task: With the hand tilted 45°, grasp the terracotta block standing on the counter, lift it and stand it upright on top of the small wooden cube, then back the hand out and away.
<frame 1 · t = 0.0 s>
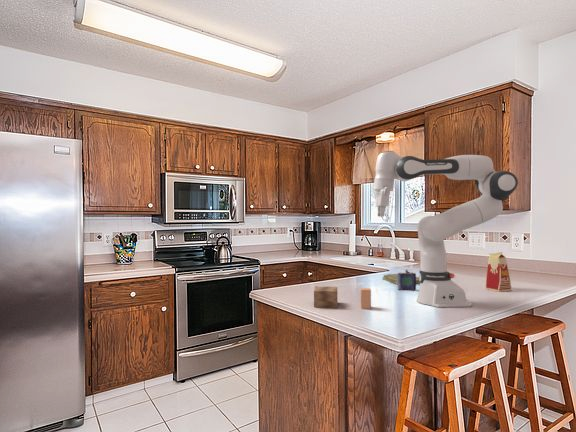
hand: (380, 216, 167), 39 cm above the counter, tool pointing down, fingers open, 8 cm apart
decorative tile: (402, 282, 215), on the counter
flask: (406, 290, 191), on the counter
small wooden cube: (326, 304, 161), on the counter
terracotta block: (365, 307, 156), on the counter
milk carton: (497, 289, 191), on the counter
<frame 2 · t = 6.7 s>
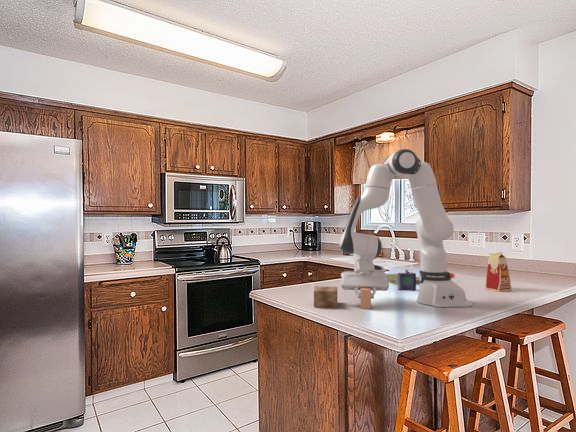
hand: (365, 297, 155), 4 cm above the counter, tool tilted 45°, fingers closed on terracotta block, 4 cm apart
terracotta block: (365, 307, 156), on the counter, touching gripper
everything else where it was.
when the fingers open (13 cm above the counter, at t = 12.8 s): terracotta block drops 1 cm, resting on small wooden cube.
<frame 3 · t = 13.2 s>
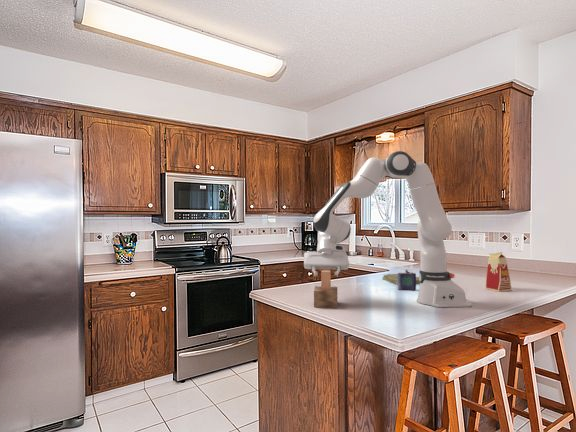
hand: (325, 275, 160), 13 cm above the counter, tool tilted 45°, fingers open, 8 cm apart
terracotta block: (326, 288, 161), point 7 cm above the counter, touching small wooden cube
everything else where it was.
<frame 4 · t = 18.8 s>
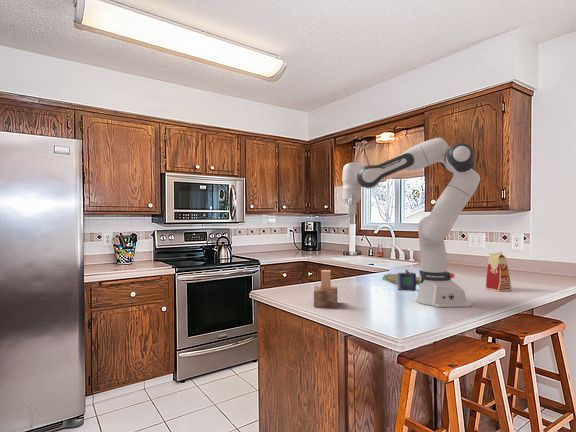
hand: (351, 224, 177), 35 cm above the counter, tool pointing down, fingers open, 8 cm apart
nothing on the counter moved.
at the end: terracotta block 0.0 cm off-centre on the small wooden cube, point 7.0 cm above the small wooden cube's base; terracotta block tilted 0°; the gripper is holding nothing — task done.
